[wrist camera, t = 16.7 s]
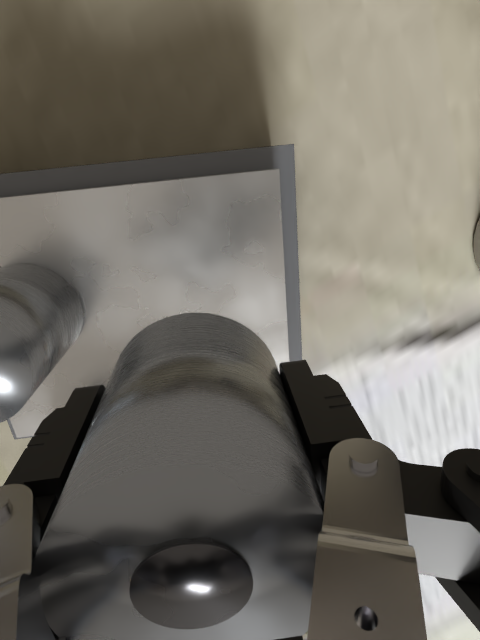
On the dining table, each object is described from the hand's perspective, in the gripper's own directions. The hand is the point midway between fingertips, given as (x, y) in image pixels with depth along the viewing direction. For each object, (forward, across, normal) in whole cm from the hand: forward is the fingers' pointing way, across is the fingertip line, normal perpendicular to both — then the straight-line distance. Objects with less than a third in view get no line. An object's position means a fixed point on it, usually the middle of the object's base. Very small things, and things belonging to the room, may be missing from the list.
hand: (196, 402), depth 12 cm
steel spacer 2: (+1, 0, 0) cm, 1 cm away
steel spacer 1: (+10, +8, 0) cm, 13 cm away
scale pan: (+11, +4, +1) cm, 11 cm away
